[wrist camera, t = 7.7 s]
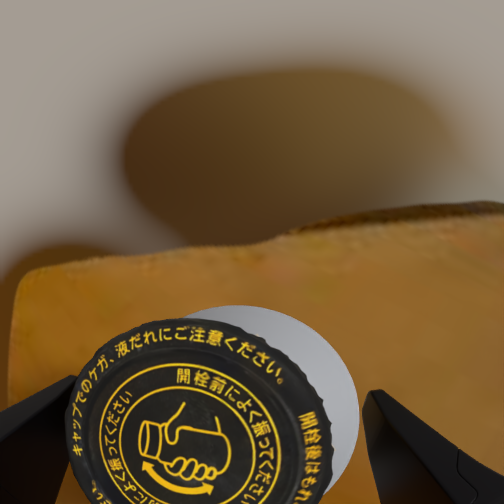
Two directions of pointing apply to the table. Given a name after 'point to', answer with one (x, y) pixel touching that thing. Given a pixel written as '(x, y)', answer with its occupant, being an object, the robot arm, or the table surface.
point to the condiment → (197, 420)
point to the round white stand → (305, 369)
